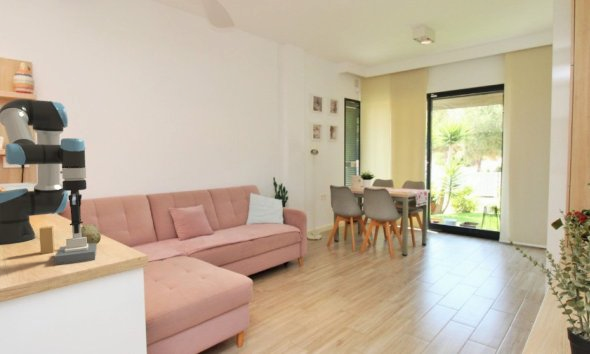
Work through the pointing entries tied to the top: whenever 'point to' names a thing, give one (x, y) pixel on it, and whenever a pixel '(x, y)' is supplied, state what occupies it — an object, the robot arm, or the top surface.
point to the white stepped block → (76, 244)
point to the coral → (91, 233)
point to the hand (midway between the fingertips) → (77, 241)
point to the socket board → (75, 255)
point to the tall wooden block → (47, 239)
